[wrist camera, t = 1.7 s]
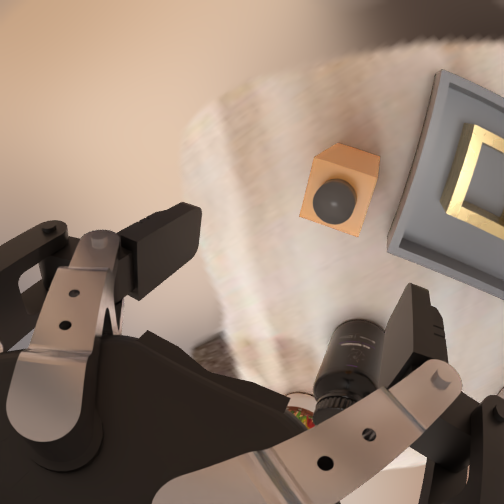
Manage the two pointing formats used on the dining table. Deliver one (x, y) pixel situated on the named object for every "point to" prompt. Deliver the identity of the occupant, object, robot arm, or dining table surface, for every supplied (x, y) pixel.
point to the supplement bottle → (348, 368)
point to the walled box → (433, 182)
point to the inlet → (462, 176)
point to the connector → (340, 188)
